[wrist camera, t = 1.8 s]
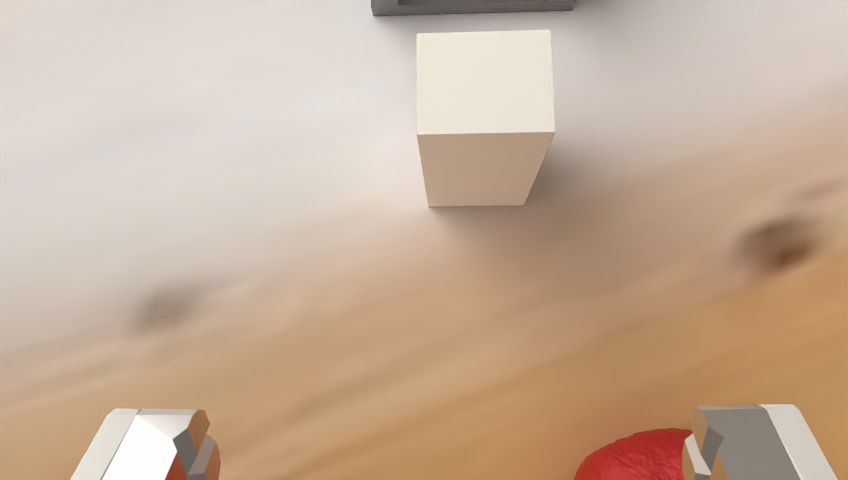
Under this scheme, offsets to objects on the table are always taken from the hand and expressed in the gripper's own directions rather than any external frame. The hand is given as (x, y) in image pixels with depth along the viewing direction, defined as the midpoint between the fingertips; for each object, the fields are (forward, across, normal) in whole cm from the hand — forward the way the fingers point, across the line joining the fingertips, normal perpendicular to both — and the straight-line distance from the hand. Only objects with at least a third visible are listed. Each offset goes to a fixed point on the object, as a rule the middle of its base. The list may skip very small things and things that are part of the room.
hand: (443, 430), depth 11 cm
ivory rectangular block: (+24, -1, +8) cm, 25 cm away
